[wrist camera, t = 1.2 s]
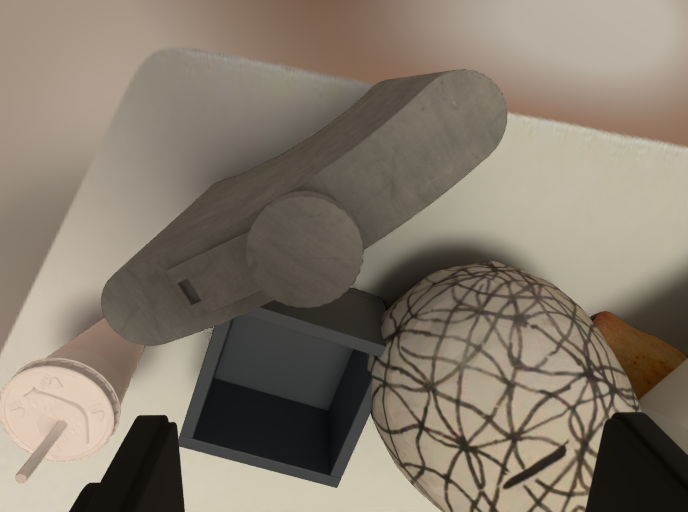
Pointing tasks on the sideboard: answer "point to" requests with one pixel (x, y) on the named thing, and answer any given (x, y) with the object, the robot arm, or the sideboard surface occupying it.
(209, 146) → the sideboard surface
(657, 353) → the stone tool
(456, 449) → the sculpture
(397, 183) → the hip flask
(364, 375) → the bin
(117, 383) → the smoothie
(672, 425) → the motor
